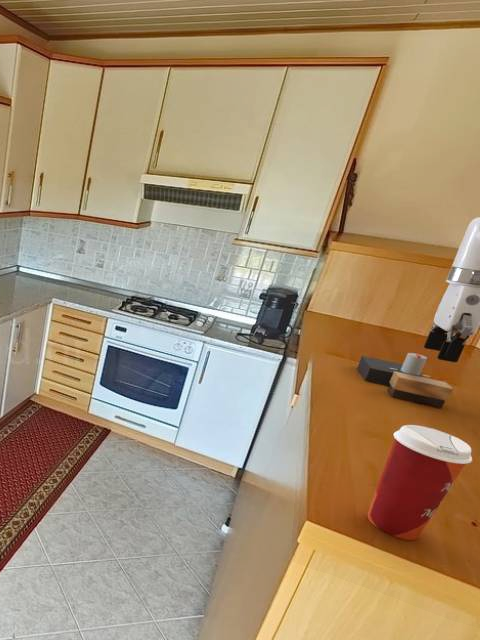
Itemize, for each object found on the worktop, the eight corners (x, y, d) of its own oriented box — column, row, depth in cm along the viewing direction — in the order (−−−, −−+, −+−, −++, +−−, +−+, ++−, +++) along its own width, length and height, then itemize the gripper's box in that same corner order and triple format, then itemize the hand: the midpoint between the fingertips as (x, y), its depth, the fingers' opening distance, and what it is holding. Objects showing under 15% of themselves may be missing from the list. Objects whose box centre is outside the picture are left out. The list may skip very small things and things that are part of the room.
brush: (437, 402, 112) (446, 382, 111) (443, 409, 109) (453, 388, 107) (385, 390, 117) (394, 371, 115) (390, 396, 113) (398, 377, 111)
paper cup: (440, 553, 63) (491, 460, 58) (369, 534, 65) (413, 443, 60) (412, 516, 69) (456, 431, 64) (349, 500, 72) (387, 416, 67)
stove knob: (398, 368, 122) (406, 350, 120) (417, 372, 120) (425, 354, 118) (402, 372, 119) (410, 354, 117) (420, 376, 117) (429, 358, 116)
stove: (415, 380, 125) (421, 367, 124) (428, 395, 116) (435, 381, 115) (357, 367, 131) (362, 355, 129) (365, 381, 121) (370, 367, 120)
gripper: (515, 287, 93) (476, 370, 99) (479, 276, 108) (448, 349, 113) (463, 280, 97) (429, 361, 102) (436, 271, 111) (407, 342, 117)
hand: (439, 354), depth 108 cm, fingers open, 9 cm apart
